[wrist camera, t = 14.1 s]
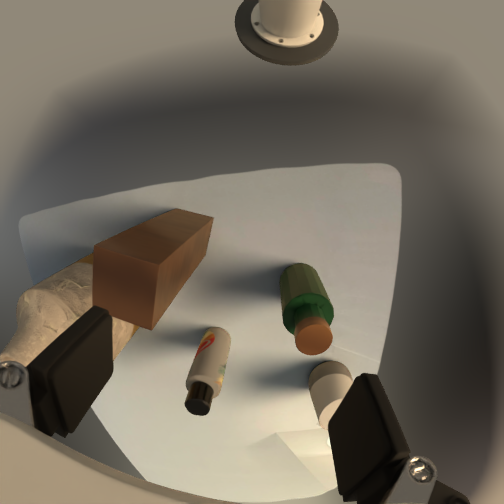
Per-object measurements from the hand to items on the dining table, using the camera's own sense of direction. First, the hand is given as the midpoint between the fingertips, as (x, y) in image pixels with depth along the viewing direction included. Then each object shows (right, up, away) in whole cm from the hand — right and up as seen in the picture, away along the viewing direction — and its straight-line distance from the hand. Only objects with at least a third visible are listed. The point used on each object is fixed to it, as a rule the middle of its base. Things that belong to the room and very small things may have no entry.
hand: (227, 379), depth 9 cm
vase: (-29, -4, +45) cm, 53 cm away
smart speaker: (+17, -22, +47) cm, 55 cm away
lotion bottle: (-6, -13, +46) cm, 48 cm away
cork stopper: (+9, -5, +28) cm, 30 cm away
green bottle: (+9, -1, +42) cm, 43 cm away
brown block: (-10, +8, +40) cm, 42 cm away
